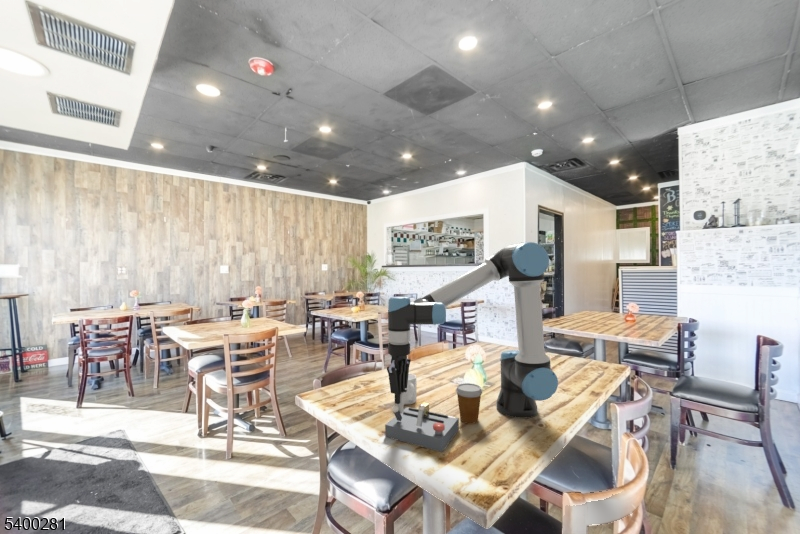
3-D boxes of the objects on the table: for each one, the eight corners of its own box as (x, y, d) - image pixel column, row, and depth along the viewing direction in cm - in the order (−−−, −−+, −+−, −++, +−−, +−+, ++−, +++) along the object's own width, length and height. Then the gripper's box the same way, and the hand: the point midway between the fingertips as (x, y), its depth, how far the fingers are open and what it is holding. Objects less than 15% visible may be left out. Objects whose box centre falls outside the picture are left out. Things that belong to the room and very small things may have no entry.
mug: (423, 406, 135) (423, 381, 135) (404, 409, 132) (404, 383, 132) (411, 396, 146) (411, 372, 146) (394, 398, 143) (393, 374, 143)
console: (458, 429, 115) (458, 416, 115) (442, 452, 101) (442, 436, 101) (407, 417, 124) (407, 405, 124) (385, 436, 110) (385, 422, 110)
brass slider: (429, 413, 118) (429, 403, 118) (425, 416, 115) (425, 406, 115) (424, 412, 119) (423, 402, 119) (420, 415, 116) (420, 405, 116)
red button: (446, 432, 105) (446, 424, 105) (442, 437, 102) (442, 429, 102) (435, 430, 106) (435, 421, 106) (431, 434, 103) (431, 426, 103)
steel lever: (423, 427, 108) (426, 405, 110) (420, 426, 106) (424, 405, 109) (417, 425, 109) (420, 404, 111) (414, 425, 107) (418, 403, 110)
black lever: (403, 416, 113) (398, 404, 110) (401, 422, 112) (396, 410, 108) (398, 415, 114) (392, 403, 111) (395, 421, 113) (390, 409, 110)
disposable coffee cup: (477, 428, 116) (477, 393, 116) (451, 421, 121) (451, 388, 121) (485, 418, 124) (485, 385, 124) (461, 412, 129) (461, 381, 129)
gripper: (398, 337, 121) (398, 403, 121) (379, 344, 109) (379, 417, 109) (417, 339, 117) (417, 407, 117) (399, 347, 106) (399, 422, 106)
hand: (399, 411), depth 113 cm, fingers closed
